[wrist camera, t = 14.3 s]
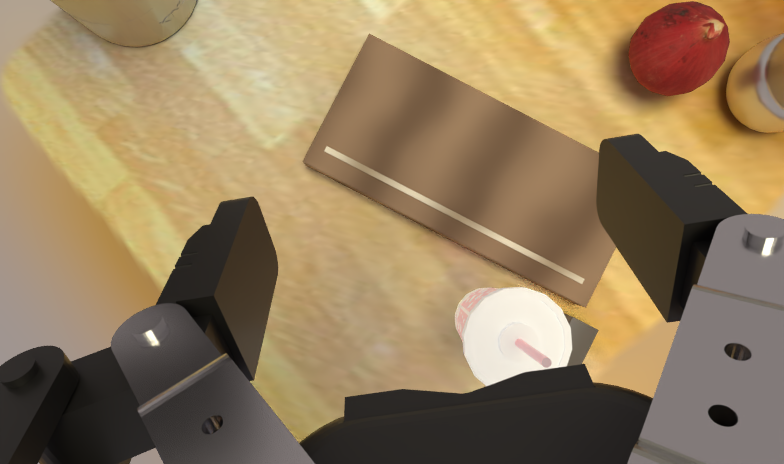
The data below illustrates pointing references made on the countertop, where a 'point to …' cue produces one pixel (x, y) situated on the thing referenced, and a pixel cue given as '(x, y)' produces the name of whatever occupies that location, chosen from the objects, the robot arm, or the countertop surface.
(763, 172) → the countertop surface
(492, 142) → the walnut board
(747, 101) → the plastic bottle
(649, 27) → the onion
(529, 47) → the countertop surface
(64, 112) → the countertop surface
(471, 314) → the beverage cup
